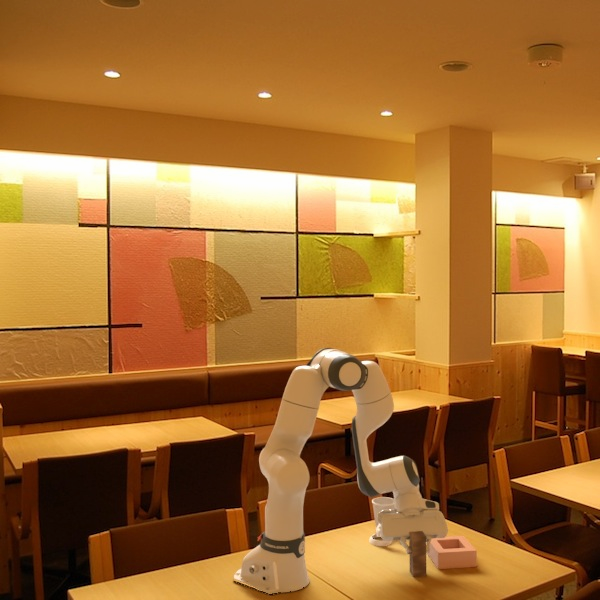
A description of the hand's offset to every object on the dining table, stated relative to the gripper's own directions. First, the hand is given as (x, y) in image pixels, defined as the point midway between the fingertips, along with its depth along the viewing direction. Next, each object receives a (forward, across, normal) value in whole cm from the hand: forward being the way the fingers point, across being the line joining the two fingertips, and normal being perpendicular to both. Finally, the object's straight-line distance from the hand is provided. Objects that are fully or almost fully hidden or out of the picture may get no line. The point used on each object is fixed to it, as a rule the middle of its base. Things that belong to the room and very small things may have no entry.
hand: (418, 552), depth 207 cm
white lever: (-14, -6, +23) cm, 28 cm away
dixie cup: (-21, -2, +31) cm, 38 cm away
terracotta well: (-2, +13, +11) cm, 17 cm away
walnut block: (+4, 0, +5) cm, 7 cm away
